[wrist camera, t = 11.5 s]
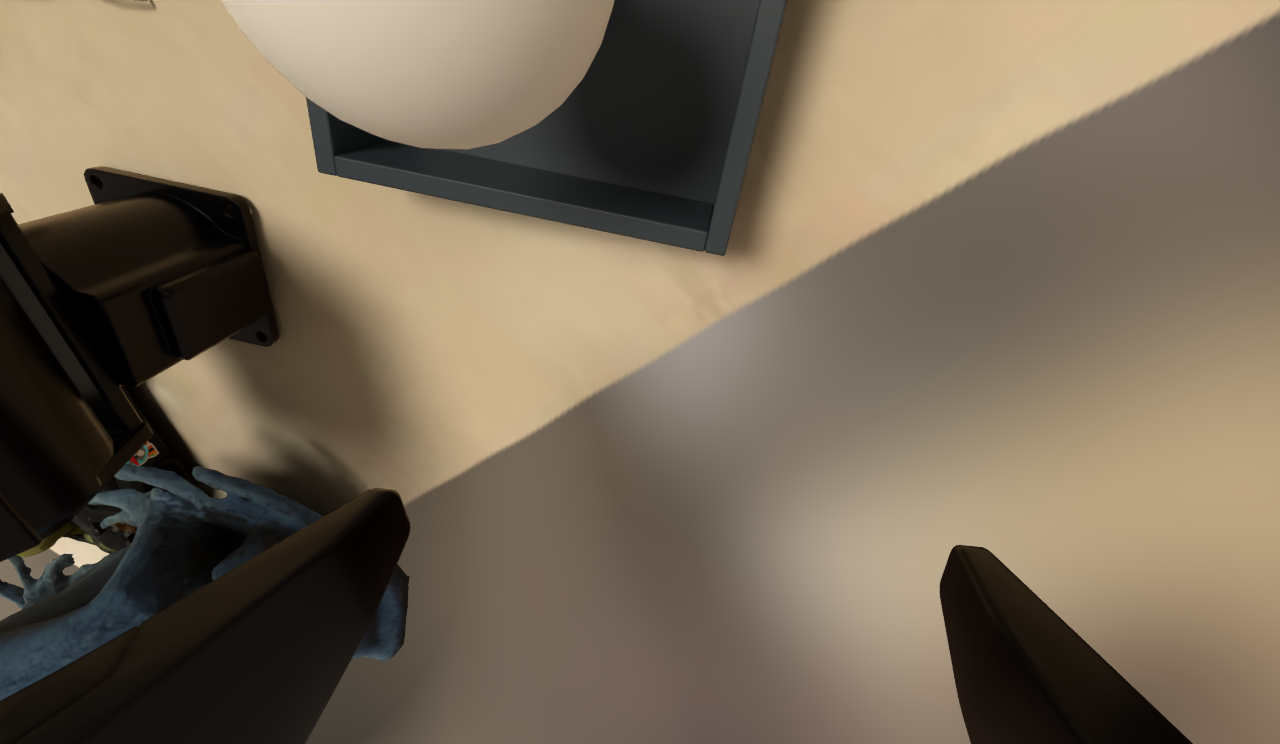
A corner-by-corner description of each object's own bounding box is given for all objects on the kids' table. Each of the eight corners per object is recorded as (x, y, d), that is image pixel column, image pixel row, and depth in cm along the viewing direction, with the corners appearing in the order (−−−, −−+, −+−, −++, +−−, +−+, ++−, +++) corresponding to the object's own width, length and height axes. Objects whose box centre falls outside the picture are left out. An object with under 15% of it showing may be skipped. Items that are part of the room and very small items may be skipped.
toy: (13, 501, 27) (213, 592, 32) (89, 442, 32) (254, 528, 36) (-54, 578, 29) (146, 655, 33) (27, 510, 33) (194, 585, 38)
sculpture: (-16, 342, 19) (-852, 1004, 8) (487, 583, 33) (424, 952, 22) (-177, 542, 27) (-703, 1008, 16) (278, 669, 41) (157, 968, 30)
